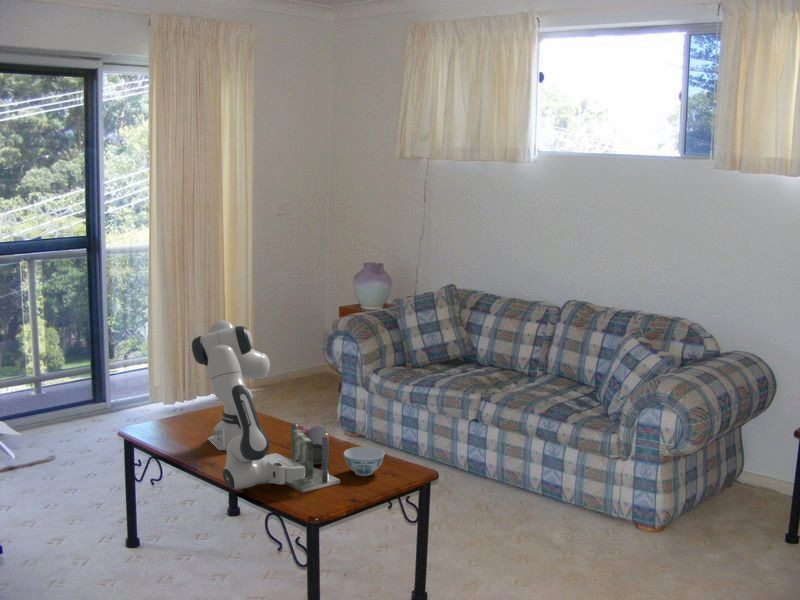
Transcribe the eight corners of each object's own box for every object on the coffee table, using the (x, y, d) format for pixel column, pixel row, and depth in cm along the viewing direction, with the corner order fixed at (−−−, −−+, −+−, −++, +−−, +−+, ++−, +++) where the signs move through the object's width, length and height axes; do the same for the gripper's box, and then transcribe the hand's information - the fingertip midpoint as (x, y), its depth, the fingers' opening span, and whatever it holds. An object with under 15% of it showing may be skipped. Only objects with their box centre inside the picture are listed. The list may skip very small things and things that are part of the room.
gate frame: (266, 473, 318) (266, 424, 315) (303, 464, 328) (303, 416, 326) (302, 492, 300) (302, 440, 297) (340, 482, 310) (340, 432, 307)
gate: (293, 465, 321) (293, 430, 319) (298, 465, 322) (298, 429, 320) (307, 479, 307) (307, 442, 305) (312, 479, 308) (313, 442, 306)
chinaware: (337, 477, 316) (337, 456, 315) (353, 464, 330) (353, 444, 329) (375, 482, 311) (375, 461, 310) (390, 469, 325) (390, 449, 324)
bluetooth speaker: (305, 448, 348) (305, 424, 346) (329, 448, 349) (329, 424, 347) (303, 467, 325) (303, 442, 324) (328, 467, 326) (328, 441, 325)
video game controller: (315, 442, 361) (309, 426, 362) (322, 439, 358) (316, 423, 360) (298, 447, 354) (292, 431, 355) (305, 444, 351) (299, 428, 352)
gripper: (253, 470, 311) (287, 462, 319) (283, 486, 295) (317, 478, 303) (253, 453, 310) (287, 446, 318) (283, 468, 294) (317, 460, 303)
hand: (302, 461), depth 311 cm, fingers closed
